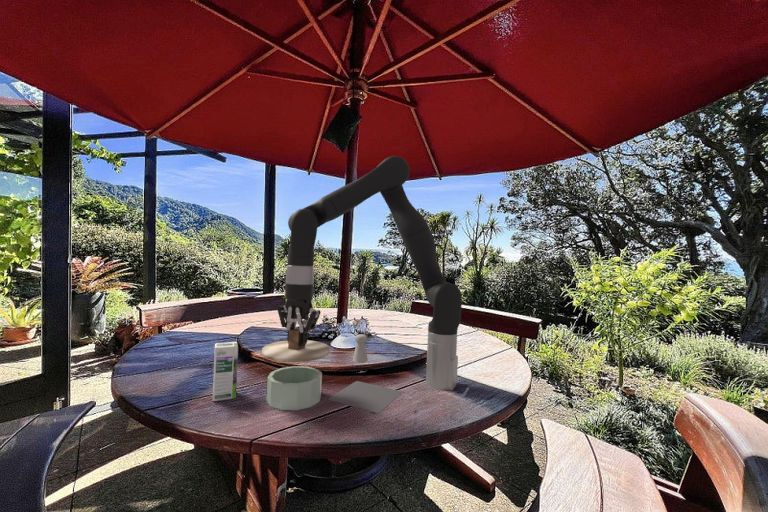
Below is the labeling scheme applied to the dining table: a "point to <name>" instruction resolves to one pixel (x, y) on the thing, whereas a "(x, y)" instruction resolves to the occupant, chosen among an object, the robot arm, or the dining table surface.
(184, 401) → the dining table surface
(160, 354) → the dining table surface
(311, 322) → the robot arm
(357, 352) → the salt shaker
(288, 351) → the lid
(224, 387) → the syrup box
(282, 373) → the bowl
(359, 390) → the mat
